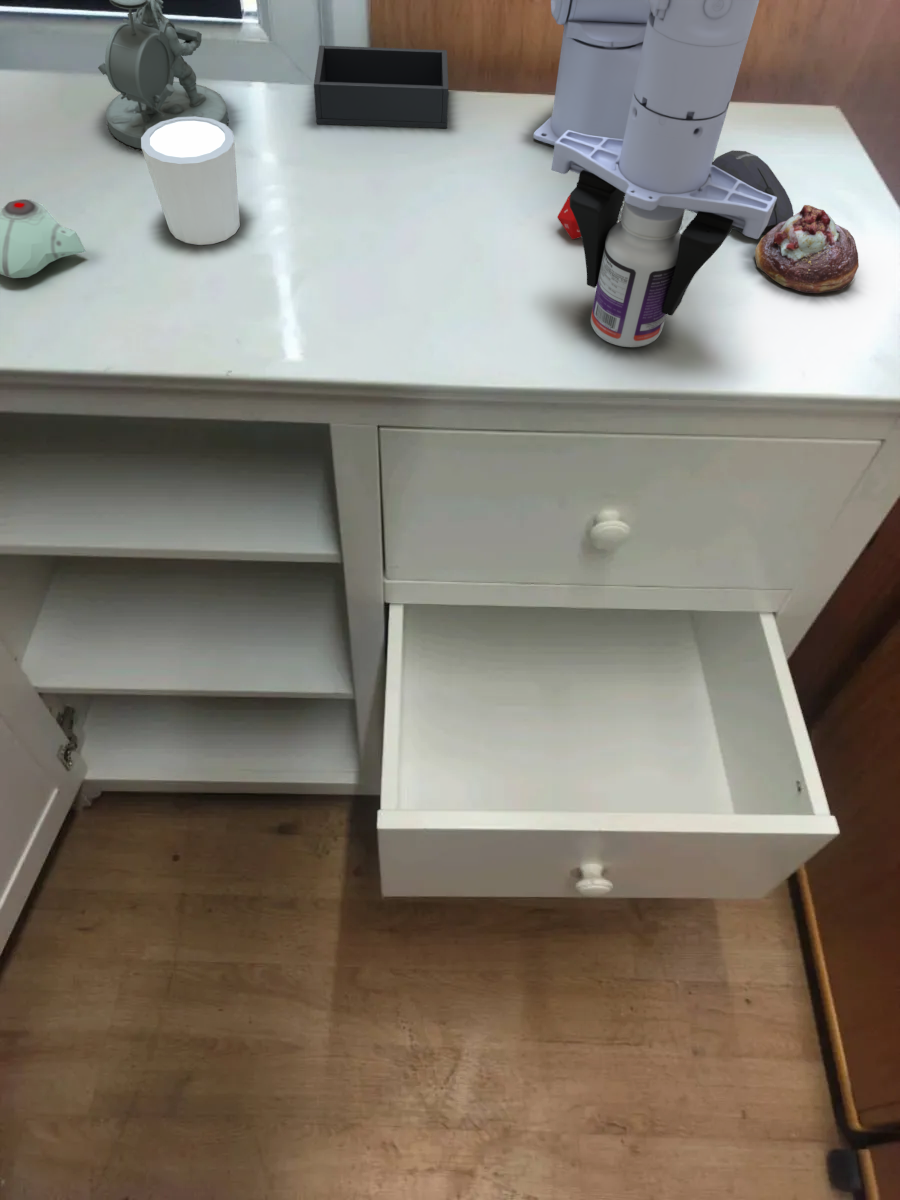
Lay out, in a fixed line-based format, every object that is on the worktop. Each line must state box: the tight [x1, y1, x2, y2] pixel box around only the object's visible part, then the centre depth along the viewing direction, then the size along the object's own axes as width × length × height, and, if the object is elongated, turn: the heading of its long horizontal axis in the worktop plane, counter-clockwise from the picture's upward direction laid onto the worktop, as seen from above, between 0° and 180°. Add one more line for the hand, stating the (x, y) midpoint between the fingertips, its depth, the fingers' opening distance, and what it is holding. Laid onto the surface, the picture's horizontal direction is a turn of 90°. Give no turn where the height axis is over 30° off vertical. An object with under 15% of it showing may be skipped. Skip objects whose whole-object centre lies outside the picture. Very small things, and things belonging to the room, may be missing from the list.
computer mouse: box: [712, 149, 795, 235], centre depth 74 cm, size 6×9×4 cm, turn 22°
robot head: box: [0, 198, 87, 279], centre depth 66 cm, size 8×4×7 cm
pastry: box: [754, 204, 859, 294], centre depth 69 cm, size 8×8×5 cm
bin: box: [313, 45, 449, 129], centre depth 82 cm, size 12×8×4 cm, turn 91°
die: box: [556, 194, 582, 240], centre depth 72 cm, size 4×4×4 cm
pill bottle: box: [590, 201, 686, 348], centre depth 62 cm, size 5×5×10 cm
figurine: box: [97, 0, 229, 150], centre depth 76 cm, size 11×11×12 cm
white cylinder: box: [141, 116, 241, 246], centre depth 69 cm, size 7×7×7 cm
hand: (632, 292), depth 64 cm, fingers closed on pill bottle, 5 cm apart
